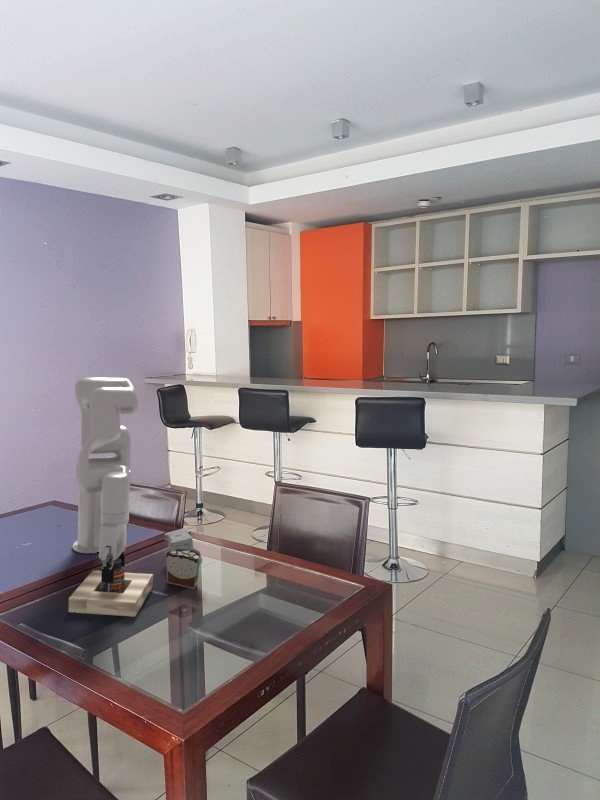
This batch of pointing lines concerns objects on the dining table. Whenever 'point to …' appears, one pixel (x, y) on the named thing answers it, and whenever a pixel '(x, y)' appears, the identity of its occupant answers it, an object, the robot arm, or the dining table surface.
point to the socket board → (111, 595)
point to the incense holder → (178, 539)
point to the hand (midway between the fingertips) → (113, 574)
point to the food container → (183, 566)
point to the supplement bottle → (115, 579)
